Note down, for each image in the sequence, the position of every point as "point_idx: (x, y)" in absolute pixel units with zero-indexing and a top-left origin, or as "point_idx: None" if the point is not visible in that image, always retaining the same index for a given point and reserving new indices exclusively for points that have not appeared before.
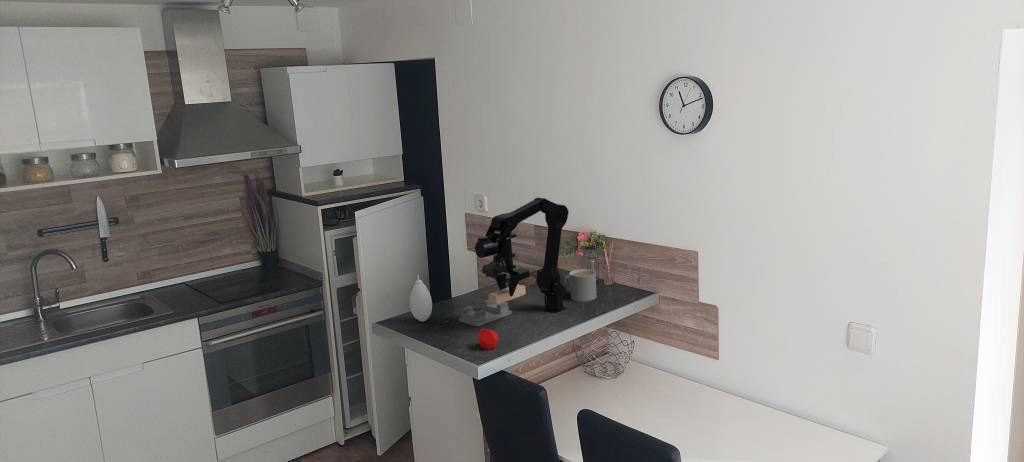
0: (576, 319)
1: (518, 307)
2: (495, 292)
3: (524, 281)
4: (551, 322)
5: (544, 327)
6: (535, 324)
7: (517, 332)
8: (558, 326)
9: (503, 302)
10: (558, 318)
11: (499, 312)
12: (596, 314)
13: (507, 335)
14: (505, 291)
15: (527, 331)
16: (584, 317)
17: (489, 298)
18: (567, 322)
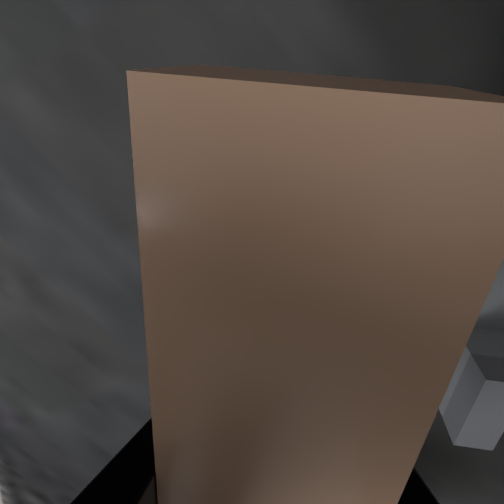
0: (29, 427)
1: (432, 463)
2: (417, 345)
3: None
4: (88, 358)
5: (50, 284)
6: (135, 300)
7: (109, 122)
8: (6, 327)
9: (493, 436)
10: (109, 411)
11: (471, 335)
12: (20, 489)
13: (117, 14)
14: (229, 460)
15: (70, 177)
16: (26, 454)
17: (463, 93)
18: (25, 385)
